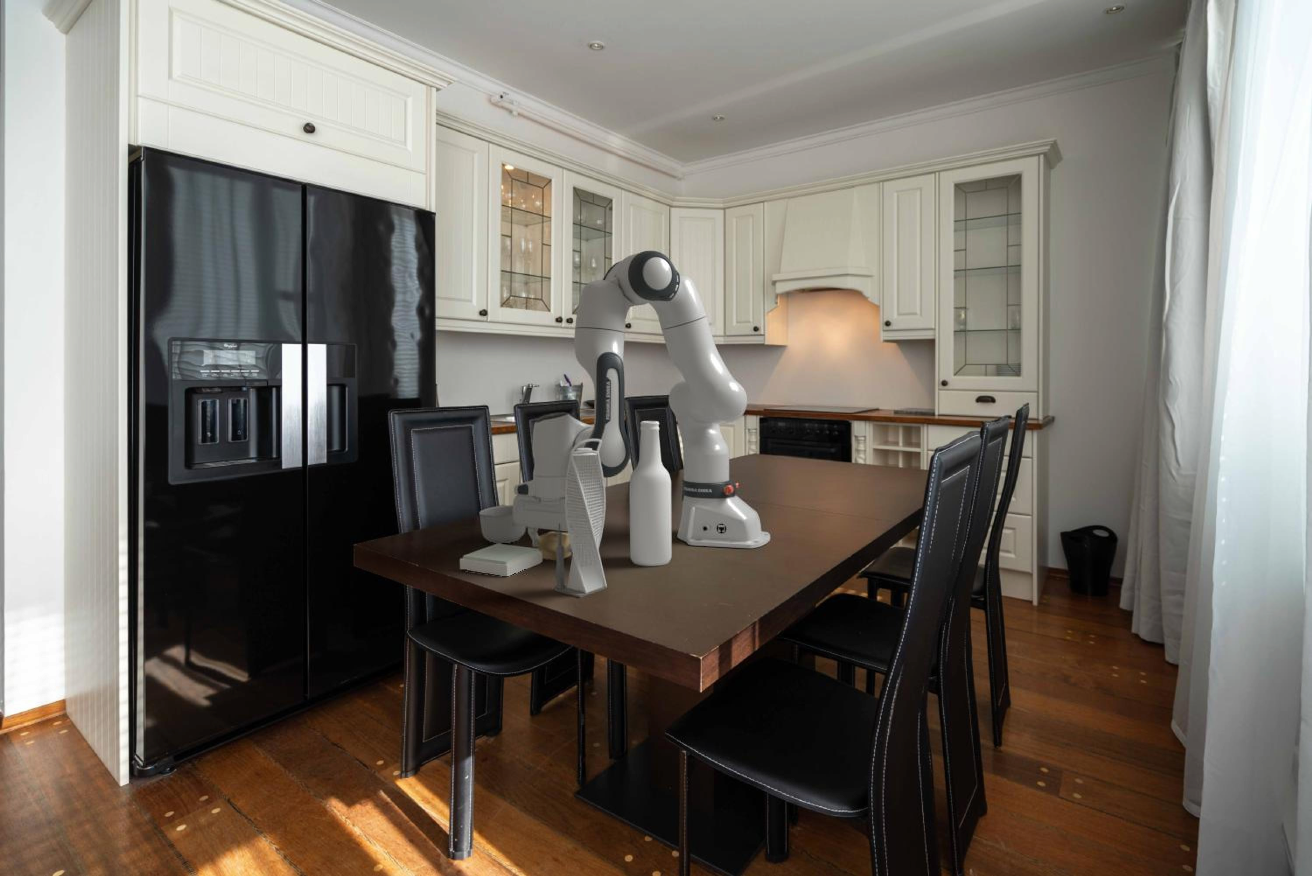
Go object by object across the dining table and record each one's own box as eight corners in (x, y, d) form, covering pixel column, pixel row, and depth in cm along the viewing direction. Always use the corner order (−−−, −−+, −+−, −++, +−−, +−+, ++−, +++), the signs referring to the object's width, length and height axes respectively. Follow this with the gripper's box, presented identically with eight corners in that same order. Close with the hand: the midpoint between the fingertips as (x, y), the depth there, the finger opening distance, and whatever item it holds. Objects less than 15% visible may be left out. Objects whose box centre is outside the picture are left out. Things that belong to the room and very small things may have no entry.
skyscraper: (586, 579, 134) (583, 437, 131) (616, 587, 129) (614, 439, 126) (553, 590, 127) (550, 440, 125) (584, 599, 122) (581, 443, 119)
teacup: (520, 547, 160) (519, 513, 159) (474, 547, 160) (473, 513, 159) (532, 533, 173) (532, 502, 173) (490, 533, 174) (489, 502, 173)
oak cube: (571, 555, 152) (570, 533, 152) (558, 561, 148) (558, 538, 147) (552, 553, 154) (551, 531, 154) (539, 558, 150) (538, 536, 149)
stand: (542, 562, 146) (542, 548, 146) (507, 577, 136) (506, 562, 135) (497, 556, 151) (496, 542, 151) (460, 570, 141) (459, 556, 140)
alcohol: (667, 568, 141) (666, 423, 138) (626, 566, 143) (624, 422, 140) (674, 556, 150) (674, 420, 147) (635, 555, 152) (634, 420, 149)
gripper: (602, 487, 148) (603, 550, 149) (524, 482, 157) (526, 541, 158) (587, 492, 142) (588, 557, 143) (507, 486, 151) (509, 547, 152)
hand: (555, 549), depth 151 cm, fingers open, 8 cm apart
